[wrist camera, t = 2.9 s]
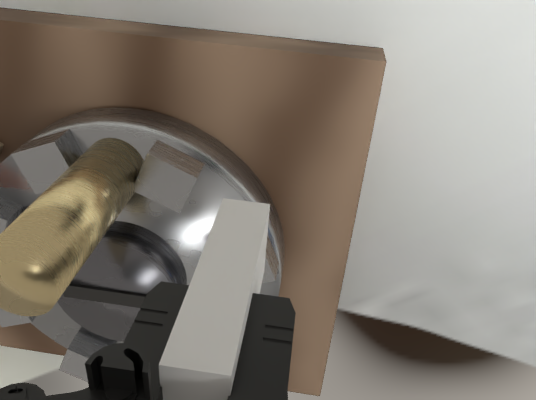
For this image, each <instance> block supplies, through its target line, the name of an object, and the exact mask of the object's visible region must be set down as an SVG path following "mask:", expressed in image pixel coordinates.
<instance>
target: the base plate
mask: <svg viewBox="0 0 536 400" xmlns="http://www.w3.org/2000/svg"><path fill="white" fill-rule="evenodd" d="M385 66H386V59H385V55H384V51H383V48H375V47H365V46H356V45H346V44H337V43H328V42H318V41H309V40H299V39H290V38H280V37H271V36H262V35H252V34H243V33H233V32H224V31H214V30H205V29H196V28H186V27H177V26H167V25H158V24H148V23H139V22H130V21H120V20H111V19H101V18H92V17H82V16H73V15H64V14H54V13H45V12H35V11H26V10H17V9H7V8H0V164H1V162H2V161H4V160H5V159H6V158H7V157H8V156H9V155H11V153H13V152H14V151H15V150H17V149H18V148H19V147H21V146H22V145H23V144H25V143H26V142H27V141H29V140H30V139H31V138H33V137H34V136H35V135H36V134H38V133H39V132H40V131H42V130H43V129H44V128H46V127H48V126H49V125H51V124H53V123H54V122H56V121H58V120H59V119H62V118H64V117H67V116H70V115H72V114H75V113H78V112H82V111H87V110H91V109H98V108H111V107H120V108H136V109H142V110H147V111H153V112H157V113H161V114H164V115H167V116H170V117H174V118H177V119H179V120H181V121H184V122H186V123H188V124H191V125H193V126H195V127H197V128H199V129H201V130H202V131H204V132H206V133H208V134H209V135H211V136H213V137H214V138H216V139H217V140H219V141H220V142H221V143H223V144H224V145H225V146H227V147H228V148H229V149H231V150H232V151H233V152H234V153H235V154H236V155H237V156H239V157H240V158H241V159H242V160H243V161H244V162H245V163H246V164H247V165H248V166H249V167H250V169H251V170H252V171H253V172H254V173H255V175H256V176H257V177H258V178H259V180H260V181H261V182H262V184H263V185H264V187H265V189H266V190H267V192H268V193H269V195H270V197H271V199H272V201H273V203H274V205H275V208H276V210H277V212H278V215H279V218H280V222H281V225H282V229H283V235H284V243H285V257H284V266H283V272H282V278H281V284H280V290H279V296H278V297H285V298H290V301H291V303H292V305H293V308H294V310H295V312H296V315H295V324H294V334H293V343H292V353H291V363H290V372H289V382H288V391H290V392H296V393H303V394H309V395H316V396H320V393H321V388H322V383H323V378H324V373H325V367H326V363H327V357H328V352H329V347H330V343H331V338H332V333H333V328H334V323H335V318H336V312H337V308H338V302H339V297H340V292H341V287H342V282H343V277H344V272H345V267H346V262H347V257H348V252H349V247H350V242H351V237H352V232H353V227H354V222H355V217H356V212H357V207H358V202H359V197H360V192H361V187H362V182H363V177H364V172H365V166H366V161H367V156H368V151H369V146H370V141H371V136H372V131H373V126H374V121H375V116H376V111H377V106H378V101H379V96H380V91H381V86H382V81H383V76H384V71H385ZM0 345H1V346H7V347H13V348H20V349H26V350H32V351H39V352H45V353H51V354H57V355H64V356H65V354H66V351H67V348H65V347H63V346H62V345H60V344H58V343H57V342H55V341H54V340H52V339H51V338H49V337H48V336H47V335H45V334H44V333H42V332H41V331H40V330H39V329H37V328H36V327H35V326H34V325H33V324H31V323H25V324H19V325H13V326H8V327H1V326H0Z"/></svg>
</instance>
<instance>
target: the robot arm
mask: <svg viewBox="0 0 536 400" xmlns="http://www.w3.org/2000/svg"><path fill="white" fill-rule="evenodd" d="M269 210H270V204H265V203H257V202H249V201H242V200H234V199H226V198H223V200H222V202H221V205H220V207H219V210H218V212H217V215H216V218H215V220H214V223H213V225H212V228H211V231H210V233H209V236H208V238H207V241H206V244H205V246H204V249H203V251H202V254H201V256H200V259H199V262H198V264H197V267H196V269H195V272H194V275H193V277H192V280H191V282H190V285H184V284H177V283H169V282H162V281H161V282H160V283H159V284H157V285H156V286H155V287H154V288H153V289H152V290H151V291H149V292H148V293H147V295H146V297H145V299H144V301H143V303H142V305H141V308H140V311H139V312H138V314H137V316H136V318H135V320H134V323H133V324H132V326H131V328H130V330H129V332H128V334H127V336H126V338H125V341H124V343H115V344H112V345H108V346H105V347H102V348H101V349H99V350H98V351H96V352H95V353H93V354H92V355H91V356H90V357H89V359H88V360H87V361H86V362H85V368H86V373H87V378H88V384H89V387H88V388H86V389H84V390H80V391H77V392H71V393H65V394H57V395H51V396H46V395H45V393H44V391H43V390H42V389H41V388H39V387H38V386H37V385H34V384H29V383H17V384H11V385H8V386H6V387H4V388H1V389H0V400H288V395H287V391H288V382H289V372H290V363H291V353H292V343H293V334H294V324H295V315H296V312H295V310H294V308H293V305H292V303H291V301H290V298H285V297H278V296H271V295H264V294H260V289H261V284H262V280H263V275H264V268H265V256H266V245H267V233H268V222H269Z"/></svg>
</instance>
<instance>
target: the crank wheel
mask: <svg viewBox="0 0 536 400" xmlns="http://www.w3.org/2000/svg"><path fill="white" fill-rule="evenodd" d="M223 198H226V199H234V200H242V201H249V202H257V203H265V204H270V210H269V222H268V233H267V245H266V256H265V268H264V275H263V280H262V284H261V289H260V294H264V295H271V296H279V290H280V284H281V278H282V272H283V266H284V257H285V243H284V235H283V229H282V225H281V222H280V218H279V215H278V212H277V210H276V208H275V205H274V203H273V201H272V199H271V197H270V195H269V193H268V192H267V190H266V189H265V187H264V185H263V184H262V182H261V181H260V180H259V178H258V177H257V176H256V175H255V173H254V172H253V171H252V170H251V169H250V167H249V166H248V165H247V164H246V163H245V162H244V161H243V160H242V159H241V158H240V157H239V156H237V155H236V154H235V153H234V152H233V151H232V150H231V149H229V148H228V147H227V146H225V145H224V144H223V143H221V142H220V141H219V140H217V139H216V138H214V137H213V136H211V135H209V134H208V133H206V132H204V131H202V130H201V129H199V128H197V127H195V126H193V125H191V124H188V123H186V122H184V121H181V120H179V119H177V118H174V117H170V116H167V115H164V114H161V113H157V112H153V111H147V110H142V109H136V108H120V107H111V108H98V109H91V110H87V111H82V112H78V113H75V114H72V115H70V116H67V117H64V118H62V119H59V120H58V121H56V122H54V123H53V124H51V125H49V126H48V127H46V128H44V129H43V130H42V131H40V132H39V133H38V134H36V135H35V136H34V137H33V138H31V139H30V140H29V141H27V142H26V143H25V144H23V145H22V146H21V147H19V148H18V149H17V150H15V151H14V152H13V153H11V155H9V156H8V157H7V158H6V159H5V160H4V161H2V162H1V164H0V326H1V327H8V326H13V325H19V324H25V323H31V324H33V325H34V326H35V327H36V328H37V329H39V330H40V331H41V332H42V333H44V334H45V335H47V336H48V337H49V338H51V339H52V340H54V341H55V342H57V343H58V344H60V345H62V346H63V347H65V348H67V351H66V354H65V356H64V359H63V361H62V364H61V366H60V369H59V370H61V371H63V372H65V373H68V374H70V375H73V376H75V377H78V378H80V379H82V380H84V381H87V382H88V378H87V373H86V368H85V362H86V361H87V360H88V359H89V357H90V356H91V355H92V354H93V353H95V352H96V351H98V350H99V349H101V348H102V347H105V346H108V345H112V344H115V343H124V341H125V338H126V336H127V334H128V332H129V330H130V328H131V326H132V324H133V323H134V320H135V318H136V316H137V314H138V312H139V311H140V308H141V305H142V303H143V301H144V299H145V297H146V295H147V293H148V292H149V291H151V290H152V289H153V288H154V287H155V286H156V285H157V284H159V283H160V282H161V281H162V282H169V283H177V284H184V285H190V282H191V280H192V277H193V275H194V272H195V269H196V267H197V264H198V262H199V259H200V256H201V254H202V251H203V249H204V246H205V244H206V241H207V238H208V236H209V233H210V231H211V228H212V225H213V223H214V220H215V218H216V215H217V212H218V210H219V207H220V205H221V202H222V200H223Z"/></svg>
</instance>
